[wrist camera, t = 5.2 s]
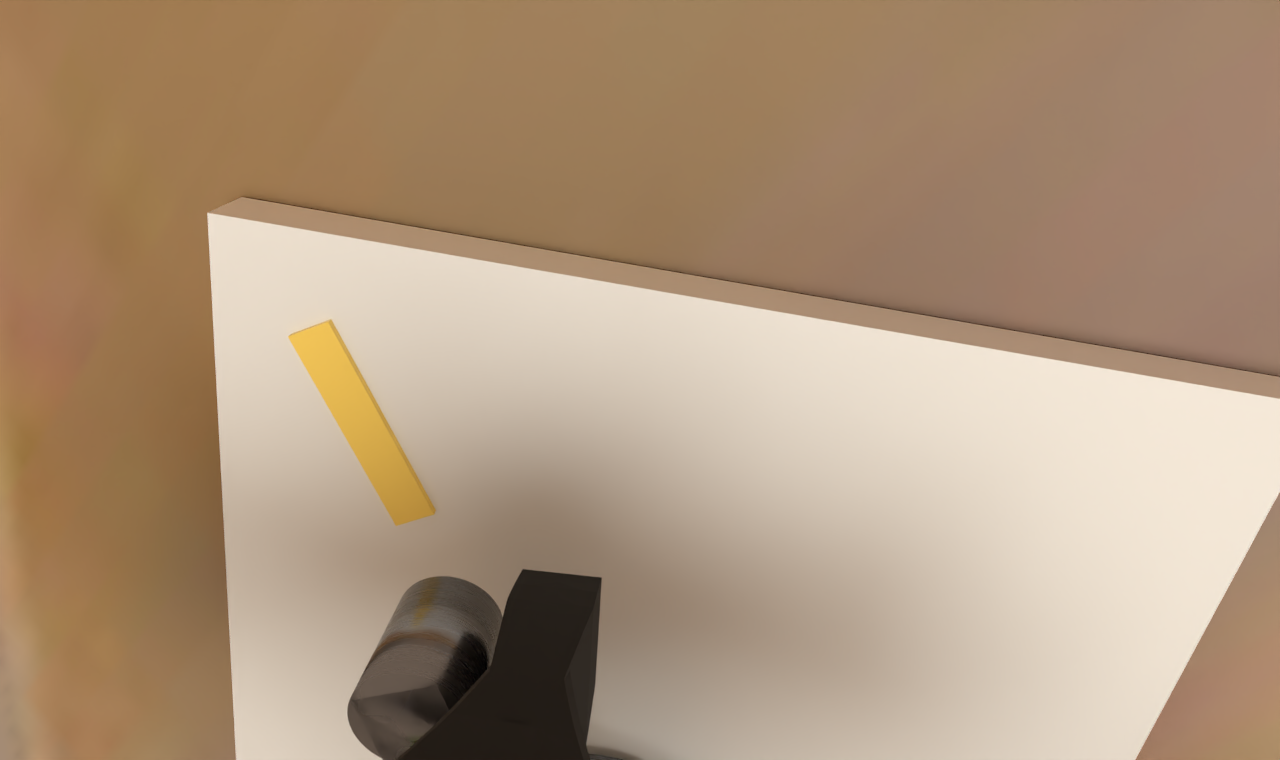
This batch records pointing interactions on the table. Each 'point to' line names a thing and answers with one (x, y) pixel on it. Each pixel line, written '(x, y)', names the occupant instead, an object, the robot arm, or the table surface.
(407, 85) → the table surface
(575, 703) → the robot arm
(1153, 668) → the white paper sheet
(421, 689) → the grey crank handle
